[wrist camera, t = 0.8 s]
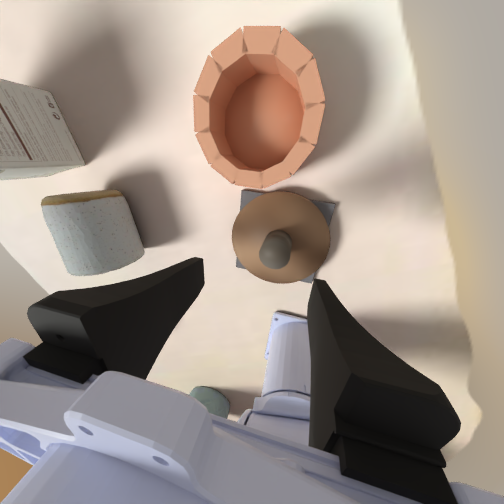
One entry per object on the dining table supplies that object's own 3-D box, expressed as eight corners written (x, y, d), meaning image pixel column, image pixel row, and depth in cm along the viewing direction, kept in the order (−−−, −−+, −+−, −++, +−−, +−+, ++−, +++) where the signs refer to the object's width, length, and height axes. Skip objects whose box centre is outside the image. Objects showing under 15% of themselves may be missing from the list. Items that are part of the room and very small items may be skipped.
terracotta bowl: (304, 188, 18) (305, 195, 15) (215, 175, 20) (195, 179, 16) (332, 59, 14) (342, 26, 10) (216, 55, 15) (191, 26, 12)
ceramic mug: (136, 184, 22) (62, 196, 15) (158, 249, 26) (105, 281, 19) (71, 191, 25) (-15, 203, 18) (99, 248, 28) (34, 276, 22)
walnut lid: (315, 287, 22) (317, 311, 19) (231, 269, 24) (220, 287, 20) (342, 199, 17) (352, 209, 14) (237, 184, 19) (223, 190, 16)
